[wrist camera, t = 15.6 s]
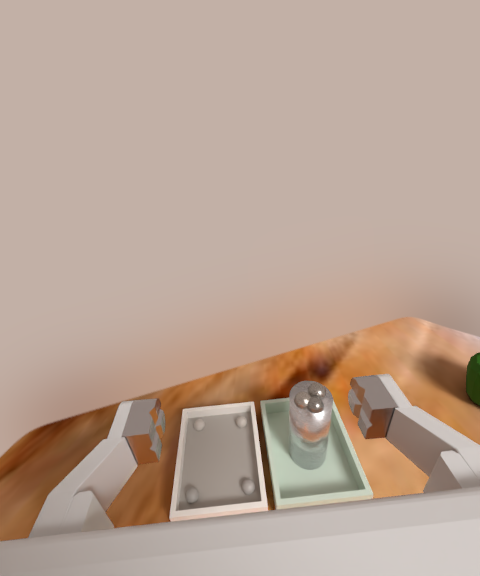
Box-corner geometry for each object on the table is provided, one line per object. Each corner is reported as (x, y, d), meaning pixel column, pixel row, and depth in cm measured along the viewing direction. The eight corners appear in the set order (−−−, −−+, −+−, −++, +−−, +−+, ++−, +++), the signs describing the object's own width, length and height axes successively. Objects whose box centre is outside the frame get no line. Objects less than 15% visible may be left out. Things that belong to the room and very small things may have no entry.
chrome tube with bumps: (293, 472, 37) (295, 412, 31) (285, 435, 41) (285, 377, 35) (331, 467, 37) (340, 407, 31) (319, 431, 41) (325, 372, 35)
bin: (276, 518, 33) (276, 505, 32) (261, 413, 45) (260, 400, 44) (369, 507, 33) (373, 494, 32) (328, 406, 45) (330, 393, 44)
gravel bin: (174, 529, 33) (169, 517, 31) (186, 421, 45) (182, 409, 43) (268, 518, 33) (267, 506, 32) (254, 413, 45) (253, 401, 44)
